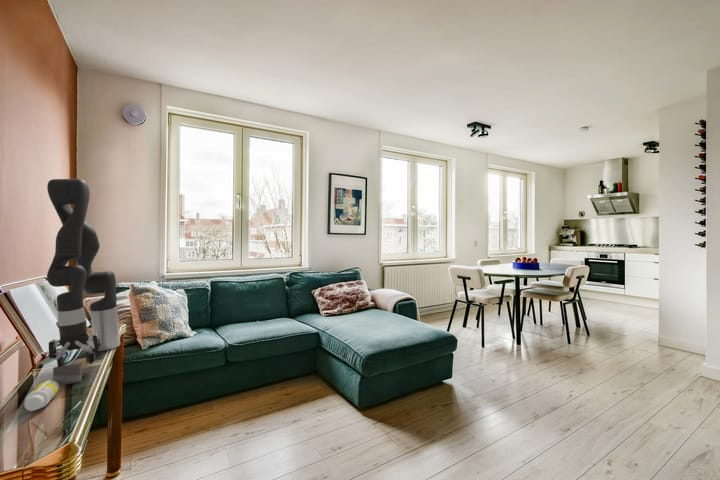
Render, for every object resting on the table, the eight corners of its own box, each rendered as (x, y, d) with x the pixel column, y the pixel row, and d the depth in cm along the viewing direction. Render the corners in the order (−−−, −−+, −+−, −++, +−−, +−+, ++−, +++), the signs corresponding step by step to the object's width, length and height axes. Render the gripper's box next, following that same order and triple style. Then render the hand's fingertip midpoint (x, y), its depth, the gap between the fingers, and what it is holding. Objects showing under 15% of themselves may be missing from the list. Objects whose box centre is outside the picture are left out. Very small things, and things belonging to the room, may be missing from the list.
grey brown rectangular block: (71, 370, 125) (69, 354, 124) (94, 366, 127) (92, 351, 127) (54, 386, 113) (52, 368, 112) (80, 381, 115) (79, 364, 115)
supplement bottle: (34, 397, 104) (18, 414, 94) (38, 379, 104) (22, 394, 95) (57, 397, 106) (43, 413, 97) (61, 379, 106) (47, 394, 97)
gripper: (100, 315, 127) (104, 357, 128) (51, 321, 121) (56, 365, 122) (93, 321, 120) (97, 365, 121) (41, 327, 114) (47, 374, 115)
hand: (77, 365), depth 122 cm, fingers open, 8 cm apart
